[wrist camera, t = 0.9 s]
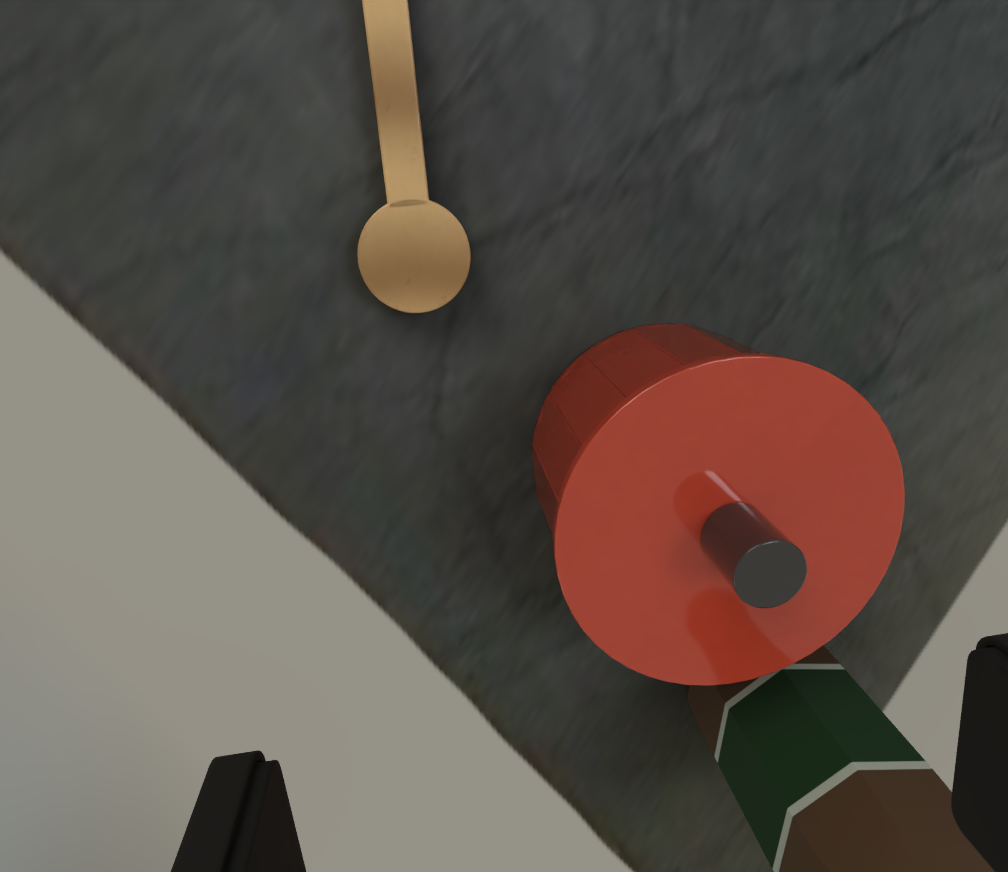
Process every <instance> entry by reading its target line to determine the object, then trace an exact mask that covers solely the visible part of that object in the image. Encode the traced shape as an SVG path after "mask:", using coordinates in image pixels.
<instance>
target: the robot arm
mask: <svg viewBox="0 0 1008 872" xmlns="http://www.w3.org/2000/svg"><path fill="white" fill-rule="evenodd" d="M951 808H952V813H953V816H954V819H955V821H956V823H957V825H958V827H959V829H960V830H961V832H962V833H963V834H964V836H965V837H966V838H967V839H968V840H969V842H970V843H971V844H972V845H973V846H974V848H975V849H976V850H977V851H978V852H979V853H980V855H981V856H982V857H983V858H984V859H985V861H986V862H987V863H988V864H989V865H990V866H991V868H992V869H993V870H994V871H995V872H1008V633H1006V634H1000V635H993V636H987V637H984V638H982V639H981V640H980V641H979V642H978V643H977V646H976V650H973V651H971V653H970V654H969V656H968V660H967V668H966V677H965V686H964V694H963V703H962V712H961V720H960V730H959V738H958V747H957V756H956V764H955V773H954V782H953V790H952V799H951ZM171 872H306V869H305V865H304V861H303V857H302V852H301V848H300V844H299V840H298V836H297V832H296V828H295V824H294V820H293V815H292V811H291V807H290V803H289V799H288V795H287V791H286V787H285V783H284V779H283V775H282V771H281V767H280V764H279V762H278V761H277V760H272V761H265V758H264V755H263V753H262V752H261V751H252V752H246V753H239V754H233V755H226V756H220V757H215V758H214V759H213V760H212V762H211V764H210V766H209V768H208V771H207V774H206V777H205V779H204V782H203V785H202V788H201V790H200V793H199V796H198V799H197V801H196V804H195V807H194V809H193V812H192V815H191V818H190V821H189V823H188V826H187V829H186V831H185V834H184V837H183V840H182V842H181V845H180V848H179V851H178V853H177V856H176V859H175V862H174V864H173V867H172V870H171Z"/></svg>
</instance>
